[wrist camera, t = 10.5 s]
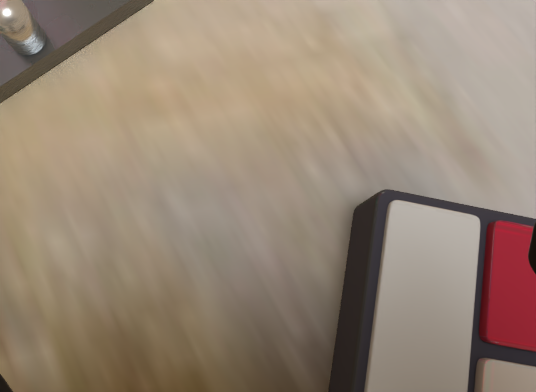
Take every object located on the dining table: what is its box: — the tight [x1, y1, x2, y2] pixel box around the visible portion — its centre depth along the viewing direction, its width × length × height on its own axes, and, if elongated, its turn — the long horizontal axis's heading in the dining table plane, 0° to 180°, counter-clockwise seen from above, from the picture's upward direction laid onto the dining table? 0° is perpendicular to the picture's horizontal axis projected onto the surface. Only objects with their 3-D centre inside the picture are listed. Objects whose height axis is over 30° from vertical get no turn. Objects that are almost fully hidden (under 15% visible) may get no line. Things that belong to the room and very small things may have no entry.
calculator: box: [329, 190, 536, 392], centre depth 20 cm, size 11×4×15 cm
